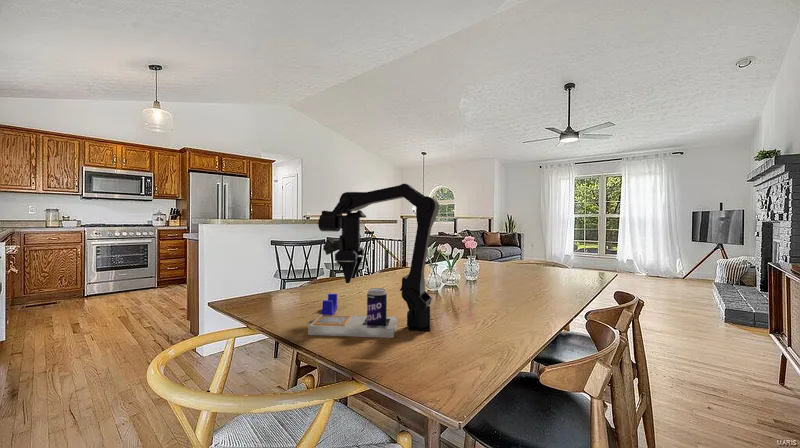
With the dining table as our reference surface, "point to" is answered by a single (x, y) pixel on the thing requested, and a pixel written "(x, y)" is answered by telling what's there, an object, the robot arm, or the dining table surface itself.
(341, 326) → the grey rectangular slab
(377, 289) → the beverage can
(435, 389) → the dining table surface
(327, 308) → the cable clip
